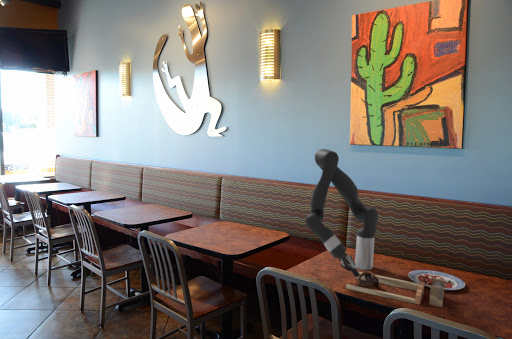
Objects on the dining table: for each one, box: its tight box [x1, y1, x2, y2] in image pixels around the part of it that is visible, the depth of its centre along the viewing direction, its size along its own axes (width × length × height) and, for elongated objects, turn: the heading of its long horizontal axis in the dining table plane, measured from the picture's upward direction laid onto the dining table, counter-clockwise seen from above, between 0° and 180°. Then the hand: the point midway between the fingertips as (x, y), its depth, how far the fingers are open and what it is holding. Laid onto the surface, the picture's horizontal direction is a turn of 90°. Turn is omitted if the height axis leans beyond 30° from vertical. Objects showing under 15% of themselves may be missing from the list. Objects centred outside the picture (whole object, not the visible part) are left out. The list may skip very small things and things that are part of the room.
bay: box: [345, 271, 425, 306], centre depth 186 cm, size 18×32×4 cm, turn 62°
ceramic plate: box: [407, 269, 466, 291], centre depth 197 cm, size 26×26×3 cm
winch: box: [428, 278, 445, 308], centre depth 174 cm, size 15×5×9 cm, turn 152°
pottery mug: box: [357, 270, 381, 289], centre depth 189 cm, size 12×10×8 cm
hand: (358, 275), depth 191 cm, fingers closed
